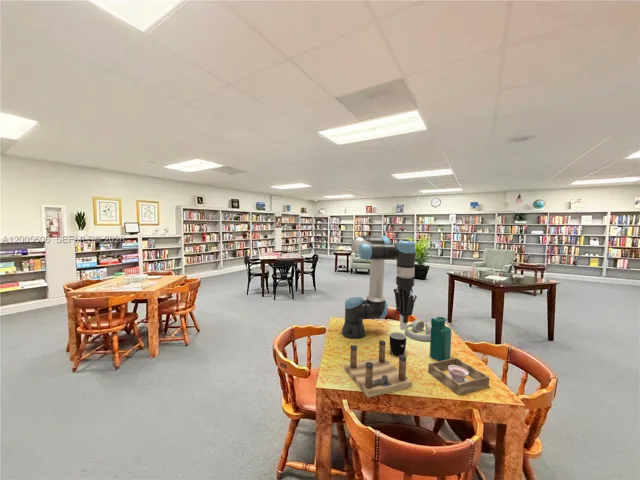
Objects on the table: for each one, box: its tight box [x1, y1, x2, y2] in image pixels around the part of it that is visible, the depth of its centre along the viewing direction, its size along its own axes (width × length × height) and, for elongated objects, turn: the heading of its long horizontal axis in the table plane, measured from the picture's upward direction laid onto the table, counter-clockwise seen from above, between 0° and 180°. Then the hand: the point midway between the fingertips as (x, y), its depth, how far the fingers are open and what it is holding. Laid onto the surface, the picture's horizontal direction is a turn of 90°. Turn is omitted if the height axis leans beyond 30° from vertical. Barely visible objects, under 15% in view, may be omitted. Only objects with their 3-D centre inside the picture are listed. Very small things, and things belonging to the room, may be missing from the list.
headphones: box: [404, 319, 432, 342], centre depth 168 cm, size 18×8×20 cm
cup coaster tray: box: [427, 357, 490, 396], centre depth 120 cm, size 18×18×4 cm
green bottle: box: [429, 316, 452, 362], centre depth 138 cm, size 10×8×22 cm
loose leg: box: [398, 354, 407, 380], centre depth 115 cm, size 3×3×10 cm
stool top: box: [344, 339, 413, 399], centre depth 120 cm, size 22×22×12 cm
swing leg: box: [365, 362, 388, 388], centre depth 110 cm, size 11×3×10 cm, turn 111°
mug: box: [389, 331, 407, 357], centre depth 144 cm, size 12×9×10 cm
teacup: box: [447, 365, 470, 383], centre depth 117 cm, size 12×12×6 cm
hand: (403, 329), depth 114 cm, fingers closed
